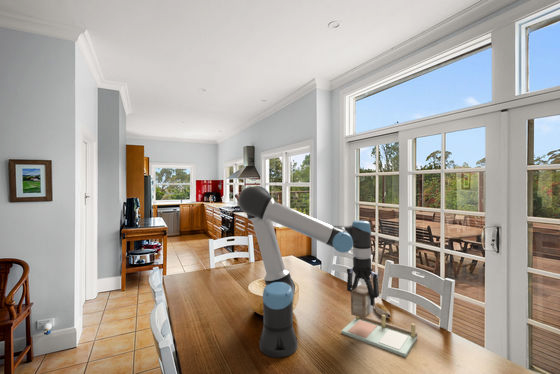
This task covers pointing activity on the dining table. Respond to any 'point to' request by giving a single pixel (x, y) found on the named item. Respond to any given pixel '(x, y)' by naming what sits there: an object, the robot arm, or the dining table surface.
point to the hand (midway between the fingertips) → (362, 310)
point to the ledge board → (382, 334)
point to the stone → (382, 310)
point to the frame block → (360, 301)
